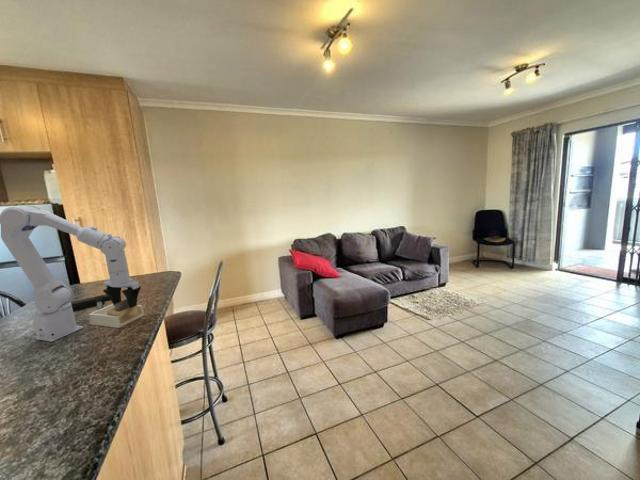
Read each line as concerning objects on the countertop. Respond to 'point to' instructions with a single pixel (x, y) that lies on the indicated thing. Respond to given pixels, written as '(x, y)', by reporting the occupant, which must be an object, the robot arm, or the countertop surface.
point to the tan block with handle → (123, 311)
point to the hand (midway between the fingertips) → (125, 305)
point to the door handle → (90, 302)
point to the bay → (111, 317)
